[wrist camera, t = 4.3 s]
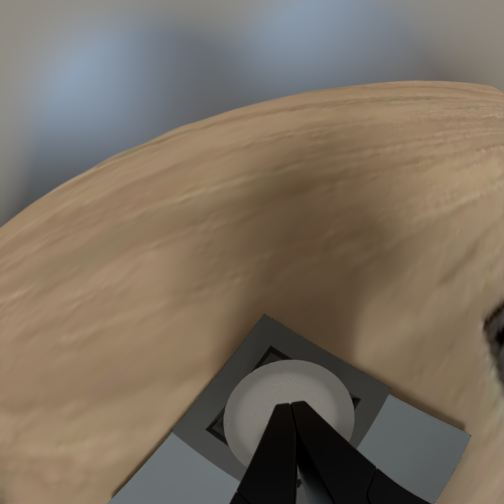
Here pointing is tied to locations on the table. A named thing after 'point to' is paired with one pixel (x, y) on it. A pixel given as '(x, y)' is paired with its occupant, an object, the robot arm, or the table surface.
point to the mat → (372, 447)
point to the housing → (251, 358)
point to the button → (283, 391)
